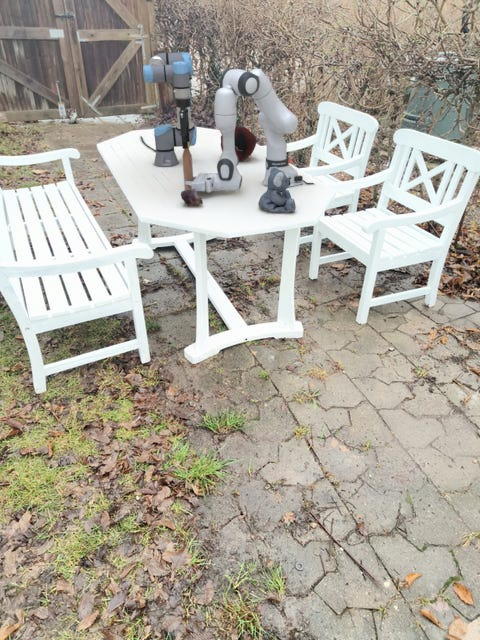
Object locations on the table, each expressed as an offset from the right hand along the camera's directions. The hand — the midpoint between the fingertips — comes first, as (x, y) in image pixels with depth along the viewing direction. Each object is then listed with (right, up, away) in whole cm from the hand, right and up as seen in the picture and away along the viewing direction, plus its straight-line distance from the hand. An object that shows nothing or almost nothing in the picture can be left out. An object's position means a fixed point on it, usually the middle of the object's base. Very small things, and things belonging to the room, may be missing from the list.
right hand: (187, 180), depth 244 cm
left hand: (+1, +15, -10) cm, 18 cm away
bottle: (+1, -5, +4) cm, 7 cm away
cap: (+1, +16, -11) cm, 20 cm away
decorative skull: (+27, +33, +59) cm, 73 cm away
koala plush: (+47, -19, -17) cm, 54 cm away
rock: (+4, -16, -12) cm, 21 cm away
